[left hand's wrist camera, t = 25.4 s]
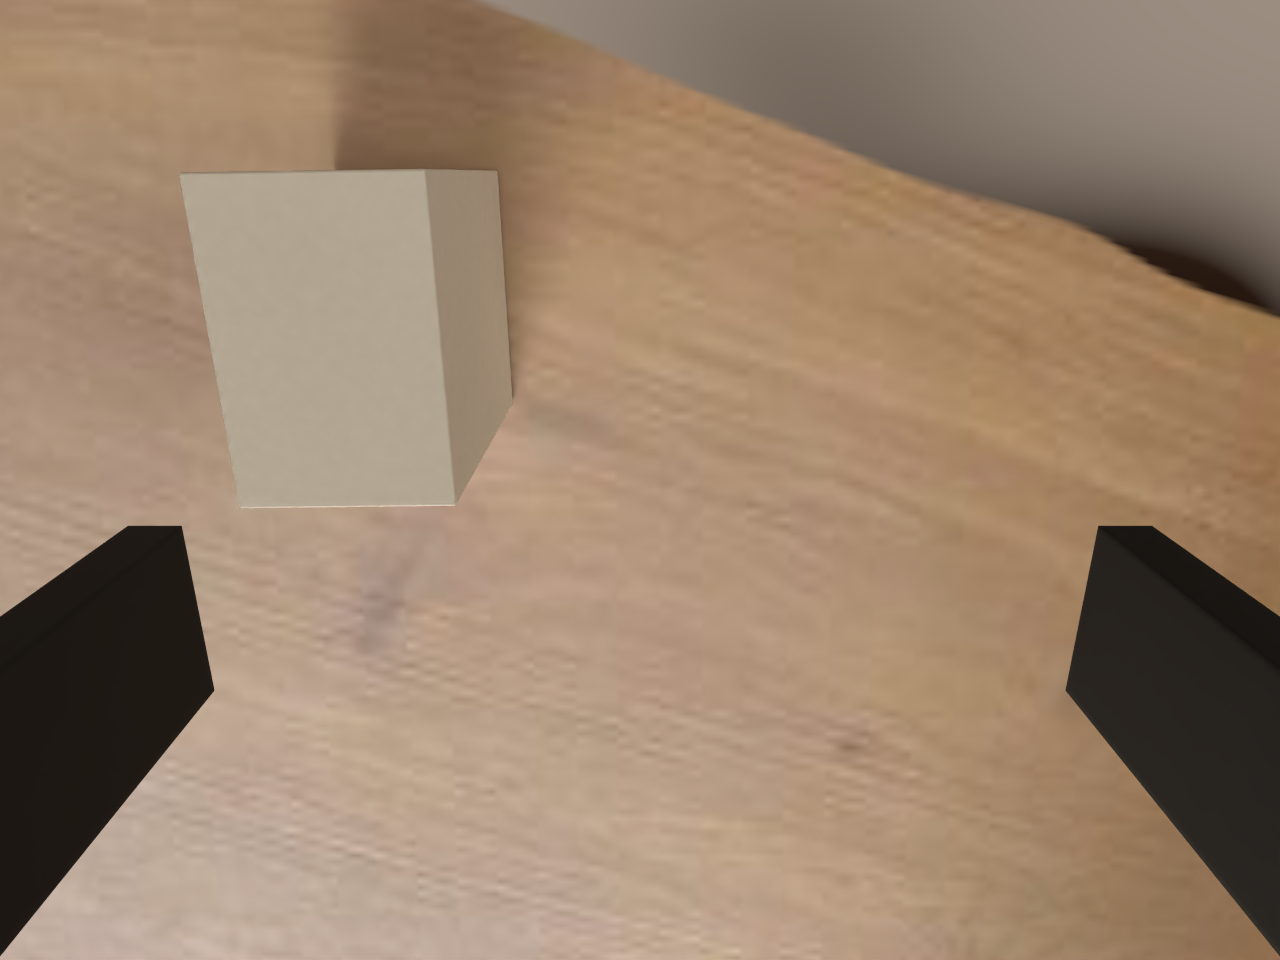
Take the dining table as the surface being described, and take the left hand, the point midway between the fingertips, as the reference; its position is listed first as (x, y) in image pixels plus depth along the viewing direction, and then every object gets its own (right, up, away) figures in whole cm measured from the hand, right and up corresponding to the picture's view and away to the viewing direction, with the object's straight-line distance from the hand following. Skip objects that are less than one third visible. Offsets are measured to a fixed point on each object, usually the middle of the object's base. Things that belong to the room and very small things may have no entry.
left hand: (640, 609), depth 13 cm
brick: (-7, +8, +16) cm, 19 cm away
